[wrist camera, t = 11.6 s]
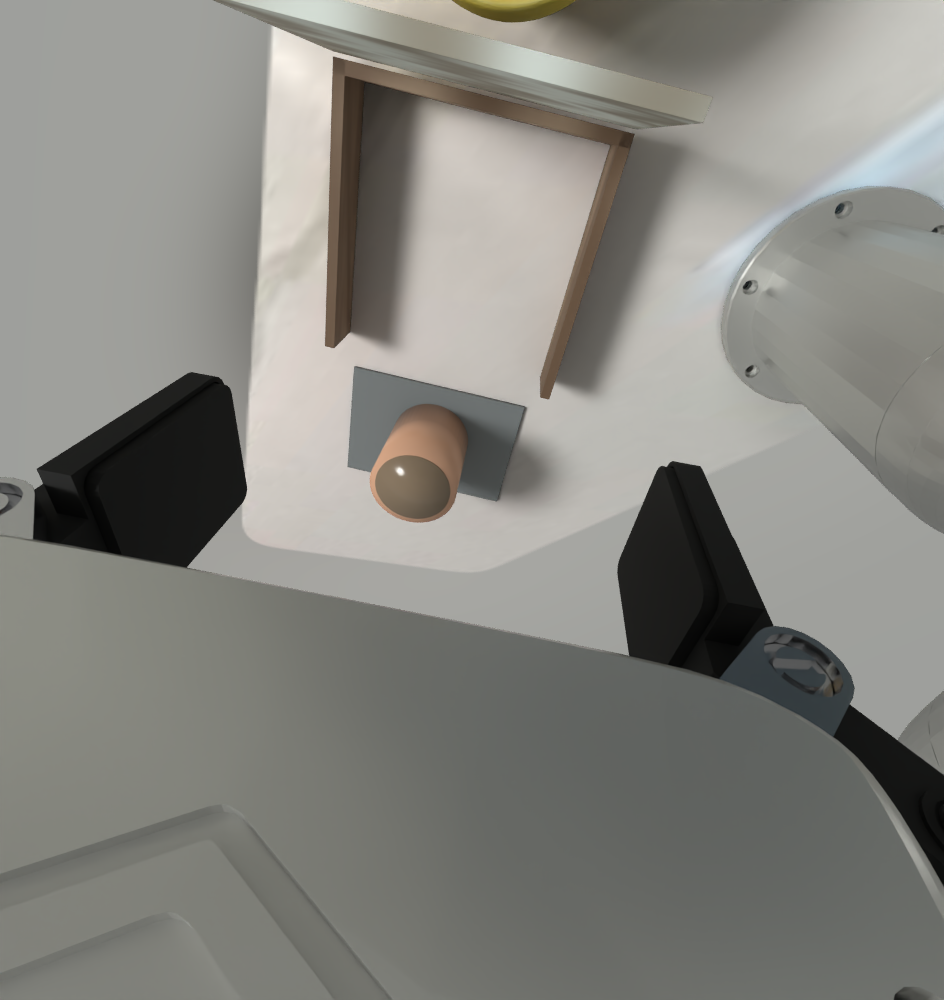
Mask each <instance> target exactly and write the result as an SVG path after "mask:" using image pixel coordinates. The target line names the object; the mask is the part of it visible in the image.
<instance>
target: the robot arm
mask: <svg viewBox="0 0 944 1000" xmlns="http://www.w3.org/2000/svg"><path fill="white" fill-rule="evenodd" d="M839 204H840V205H841V207H840V209H839V211H838V212H836V213H835V210H836V207H837V206H838V205H839ZM931 231H932V232H931ZM747 281H750V283H749V285H748V287H746V288H743V285H744V284H745V283H746V282H747ZM721 334H722V344H723V348H724V351H725V355H726V358H727V360H728V362H729V363H730V365H731V367H732V369H733V370H734V372H735V373H736V374H737V376H738V377H739V378H740V379H741V380H742V381H743V382H744V383H745V384H746V385H747V386H749V387H750V388H751V389H752V390H754V391H755V392H757V393H759V394H761V395H763V396H765V397H767V398H769V399H773V400H777V401H781V402H785V403H797V404H803V405H804V406H805V407H806V408H807V409H808V410H809V411H810V412H811V413H812V414H813V415H814V416H815V417H816V418H817V419H818V420H819V421H820V422H821V423H822V424H823V425H824V426H825V427H826V428H827V429H828V430H829V431H830V432H831V433H832V434H833V435H834V436H835V437H836V438H837V439H838V440H839V441H840V442H841V443H842V444H843V445H844V446H845V447H846V448H847V449H848V450H849V451H850V452H851V453H852V454H853V455H854V456H855V457H856V458H857V459H858V460H859V461H860V462H861V463H862V464H863V465H864V466H865V467H866V468H867V469H868V470H869V471H870V472H871V473H872V474H873V475H874V476H875V477H876V478H877V479H878V480H879V481H880V482H881V483H882V484H883V485H884V486H885V487H886V488H887V489H888V490H889V491H890V492H891V493H892V494H893V495H894V496H895V497H896V498H897V499H899V500H900V502H901V503H902V504H904V505H905V506H906V507H907V508H908V509H909V510H910V511H911V512H912V513H913V514H914V515H916V516H917V517H918V518H919V519H921V520H922V521H923V522H925V523H926V524H928V525H929V526H931V527H933V528H934V529H936V530H937V531H939V532H941V533H943V534H944V209H943V208H942V207H941V206H939V205H938V204H937V203H936V202H934V201H933V200H932V199H930V198H929V197H926V196H924V195H921V194H919V193H917V192H914V191H912V190H908V189H902V188H896V187H885V186H865V187H860V188H854V189H849V190H843V191H840V192H838V193H835V194H832V195H829V196H827V197H824V198H821V199H818V200H817V201H815V202H813V203H811V204H809V205H807V206H806V207H804V208H802V209H800V210H798V211H797V212H795V213H794V214H792V215H791V216H790V217H788V218H787V219H786V220H784V221H783V222H782V223H780V224H779V225H778V226H776V227H775V228H774V229H773V230H772V231H771V232H770V233H769V234H768V235H767V236H766V237H765V238H764V239H763V240H762V241H761V242H760V243H759V244H758V245H757V246H756V247H755V248H754V250H753V251H752V252H751V254H750V255H749V256H748V258H747V259H746V260H745V262H744V263H743V264H742V266H741V268H740V270H739V271H738V273H737V275H736V277H735V279H734V281H733V283H732V284H731V286H730V289H729V292H728V295H727V298H726V301H725V304H724V308H723V315H722V322H721ZM749 366H751V367H750V369H748V370H746V369H747V368H748V367H749ZM37 471H38V473H39V475H40V477H41V480H42V482H43V484H42V485H41V486H40V487H38V488H36V489H35V490H34V488H33V486H32V485H30V484H29V483H27V482H26V481H24V480H20V479H16V478H7V477H0V1000H944V691H943V692H942V693H941V694H939V695H938V696H937V697H936V698H935V699H934V700H933V701H932V702H930V703H929V704H928V705H927V706H926V707H925V708H924V709H923V710H922V711H921V712H920V713H919V714H918V715H917V716H916V717H915V718H914V719H913V720H912V721H911V722H910V723H909V724H908V726H907V727H906V728H905V730H904V731H903V733H902V734H901V735H900V737H899V738H898V740H896V739H895V738H894V737H892V736H891V735H890V734H888V733H887V732H885V731H884V730H883V729H882V728H880V727H879V726H877V725H876V724H875V723H874V722H872V721H871V720H870V719H868V718H867V717H866V716H864V715H863V714H862V713H860V712H859V711H858V710H856V709H855V708H854V707H852V706H851V705H850V703H851V701H852V699H853V694H854V684H853V681H852V677H851V675H850V673H849V672H848V670H847V669H846V667H845V666H844V664H843V663H842V662H841V661H840V659H839V658H838V657H837V656H836V655H835V654H834V653H833V652H832V651H831V650H829V649H828V648H827V647H825V646H824V645H823V644H821V643H820V642H819V641H817V640H815V639H813V638H811V637H810V636H808V635H806V634H804V633H802V632H799V631H796V630H793V629H790V628H786V627H779V626H773V624H772V621H771V619H770V617H769V615H768V613H767V610H766V608H765V606H764V604H763V602H762V599H761V597H760V595H759V593H758V591H757V589H756V586H755V584H754V582H753V580H752V577H751V575H750V573H749V570H748V568H747V566H746V564H745V562H744V560H743V557H742V555H741V553H740V550H739V548H738V546H737V544H736V542H735V540H734V538H733V537H732V535H731V533H730V530H729V528H728V526H727V524H726V521H725V519H724V517H723V515H722V512H721V510H720V508H719V506H718V504H717V501H716V499H715V497H714V495H713V492H712V490H711V488H710V486H709V483H708V481H707V479H706V477H705V474H704V472H703V470H702V468H701V467H700V466H696V465H690V464H685V463H679V462H674V461H672V462H670V463H669V465H668V466H667V467H664V466H661V467H659V468H658V470H657V472H656V474H655V476H654V479H653V481H652V484H651V486H650V488H649V491H648V493H647V495H646V498H645V500H644V502H643V505H642V507H641V510H640V512H639V514H638V517H637V519H636V521H635V524H634V526H633V528H632V531H631V533H630V535H629V538H628V540H627V543H626V545H625V547H624V550H623V552H622V554H621V557H620V560H619V563H618V572H617V573H618V581H619V588H620V594H621V602H622V609H623V615H624V622H625V630H626V637H627V643H628V650H629V656H627V655H623V654H618V653H614V652H609V651H604V650H599V649H594V648H589V647H584V646H579V645H574V644H569V643H564V642H560V641H555V640H549V639H545V638H540V637H535V636H530V635H524V634H520V633H515V632H510V631H505V630H500V629H495V628H490V627H485V626H480V625H475V624H470V623H465V622H460V621H455V620H450V619H445V618H440V617H435V616H430V615H425V614H419V613H415V612H410V611H405V610H400V609H395V608H390V607H385V606H380V605H375V604H369V603H364V602H359V601H354V600H349V599H344V598H339V597H334V596H329V595H324V594H318V593H314V592H308V591H303V590H298V589H293V588H288V587H283V586H278V585H272V584H267V583H262V582H257V581H252V580H247V579H242V578H237V577H232V576H226V575H222V574H217V573H212V572H206V571H201V570H196V569H190V568H187V566H188V565H189V564H190V563H191V562H192V560H193V559H194V558H195V557H196V556H197V555H198V554H199V552H200V551H201V550H202V549H203V548H204V547H205V545H206V544H207V543H208V542H209V541H210V540H211V538H212V537H213V536H214V535H215V534H216V533H217V532H218V530H219V529H220V528H221V527H222V526H223V525H224V524H225V522H226V521H227V520H228V519H229V518H230V517H231V515H232V514H233V513H234V512H235V511H236V510H237V508H238V507H239V506H240V505H241V504H242V503H243V501H244V499H245V497H246V493H247V484H246V478H245V472H244V466H243V460H242V454H241V448H240V442H239V435H238V430H237V423H236V417H235V411H234V405H233V399H232V393H231V390H230V388H229V387H228V386H227V385H224V383H223V381H222V380H221V379H220V378H219V377H215V376H209V375H204V374H198V373H193V372H191V373H188V374H186V375H184V376H183V377H181V378H180V379H178V380H176V381H175V382H173V383H172V384H170V385H169V386H167V387H165V388H164V389H163V390H161V391H159V392H158V393H156V394H154V395H153V396H151V397H150V398H148V399H147V400H145V401H143V402H142V403H140V404H139V405H137V406H135V407H134V408H132V409H131V410H129V411H128V412H126V413H124V414H123V415H121V416H120V417H118V418H116V419H115V420H113V421H112V422H110V423H109V424H107V425H105V426H104V427H102V428H101V429H99V430H98V431H96V432H94V433H93V434H91V435H90V436H88V437H86V438H85V439H83V440H82V441H80V442H79V443H77V444H75V445H74V446H72V447H71V448H69V449H68V450H66V451H64V452H63V453H61V454H60V455H58V456H57V457H55V458H53V459H52V460H50V461H49V462H47V463H45V464H44V465H42V466H41V467H39V468H38V469H37Z"/></svg>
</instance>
